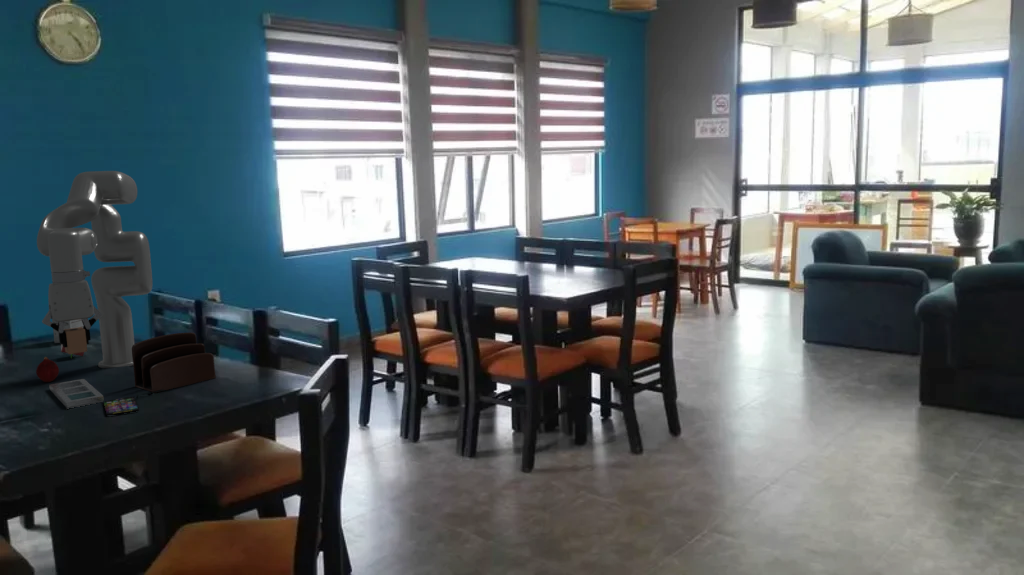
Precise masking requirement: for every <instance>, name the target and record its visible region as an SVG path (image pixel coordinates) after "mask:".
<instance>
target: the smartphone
mask: <svg viewBox="0 0 1024 575" xmlns="http://www.w3.org/2000/svg"><path fill="white" fill-rule="evenodd" d="M103 402H104V403H103V406H105V407H104V411H106V413H105V415H106V416H107V415H117V414H124V413H130V412H136V411H139V412H140V407H139V406H138V405H139V404H138V403H137V399H136V398H135V397H134V396H127V397H121V398H117V399H111V400H104V401H103ZM136 413H137V412H136ZM124 415H125V414H124Z"/></svg>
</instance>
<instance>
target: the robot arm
mask: <svg viewBox="0 0 1024 575" xmlns="http://www.w3.org/2000/svg"><path fill="white" fill-rule="evenodd" d="M67 196H68V197H67V199H66V200H67V201H66V202H65V203H63V204H61V205H59V206H58V207H57V208H55V209H53V210H52V211H50V212H49V213H48V214H47V215H45V216H44V218H43V219H42V220H41V224H40V226H39V230H38V232H37V236H36V246H37V250H38V251H39V253H40V254H41V255H43V256H45V257H49V263H50V264H49V265H50V271H51V281H52V283H49V284H48V311H47V313H46V314H45V316H44V318H43V319H42V320H41V322H42V324H44V325H45V326H48V327H50V328H52V329H55V330H56V331H58V332H59V341H60V343H59V344H60V345H63V347H64V348H65V347H67V339H66V333H65V330H64V325H65V321H71V320H79V319H81V320H82V323H83V328H84V329H85V333H86V342H87V345H89V344H90V342H89V341H91V339H92V338H91V331H90V330H91V329H92V327H93V325H95V323H97V321H98V323H99V332H100V333H99V334H100V342H101V351H102V360H100V361H99V362H98V363H97V364H98V367H99V368H100V369H110V368H121V367H122V368H123V367H128V366H129V367H132V366H133V358H132V346H133V345H134V344H135V335H134V334H135V333H134V325H133V315H132V309H131V306H130V305H129V304H128V303H127V301H125V299H124V298H123V297H130V296H143V295H148V294H149V293H151V291H152V290H153V271H152V260H151V251H150V250H151V249H150V242H149V239H148V237H147V235H146V234H145V233H144V232H141V231H137V230H136V231H135V230H133V231H132V230H131V231H123V226H122V217H121V215H120V213H119V212H118V210H117V209H116V208H115V207H114V206H113V205H130V204H133V203H134V202H135V201H136V200H137V197H138V186H137V183H136V181H135V180H134V179H133V178H132V177H131V176H130V175H128V174H126V173H124V172H121V171H118V170H102V171H101V170H100V171H99V170H97V171H95V170H94V171H84V172H80V173H78V174H77V175H76V176H75V177H74V178H73V181H72V183H71V186H70V190H69V193H68V195H67ZM90 222H91V223H90ZM88 223H90V224H91V228H87V227H80V226H82V225H85V224H88ZM92 253H94V257H95V258H96V260H98V262H102V263H124V262H126V263H127V262H131V263H133V264H134V265H117V266H115V265H114V266H104V267H99V268H97V269H96V270H94V271H93V273H92V274H91V273H90V270H89V271H88V270H87V271H86V270H85V269H84V263H83V256H86V255H87V256H88V255H91V254H92ZM87 277H91V280H90V281H91V287H92V289H93V293H94V296H95V300H96V305H97V308H96V306H95V305H94V302H93V298H92V292H91V288H90V285H89V283H88V281H87V280H86V278H87ZM52 319H53V320H54V321H57V322H58V323H57V325H56V324H55V323H53V322H52Z"/></svg>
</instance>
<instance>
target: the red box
mask: <svg viewBox="0 0 1024 575" xmlns="http://www.w3.org/2000/svg"><path fill="white" fill-rule="evenodd" d="M60 352H61V353H63V354H64V355H66V356H67V357H69V358H70V359H73V358H76V356H78V357H81V356H82V357H84V354H85V352H80V353H74V354H68V353H67V352H66V351H65V348H64V347H63V345H62V344H60ZM73 355H74V357H72V356H73Z"/></svg>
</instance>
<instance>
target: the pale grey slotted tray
mask: <svg viewBox="0 0 1024 575" xmlns="http://www.w3.org/2000/svg"><path fill="white" fill-rule="evenodd" d="M49 390H50V391H51V393H52V394H53V395H54V396H55V397H56V398H57V399H58V400H59V401H60V402H61V403H62V404H63V406H64V407H65V409H66V410H67V409H69V408H74V407H80V406H85V405H90V404H96V403H102V402H104V401H105V399H104V395H103V394H102V393H101V392H100V391H99V390H97V388H95V387H94V386H93V385H92V384H90V383H89V382H88V381H87V380H86V379H85V378H81V379H74V380H69V381H63V382H55V383H52V384H49ZM102 404H103V403H102ZM96 405H97V404H96ZM80 408H81V407H80Z"/></svg>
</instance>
